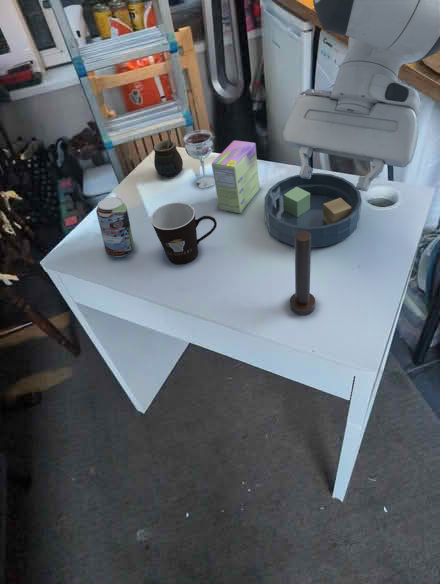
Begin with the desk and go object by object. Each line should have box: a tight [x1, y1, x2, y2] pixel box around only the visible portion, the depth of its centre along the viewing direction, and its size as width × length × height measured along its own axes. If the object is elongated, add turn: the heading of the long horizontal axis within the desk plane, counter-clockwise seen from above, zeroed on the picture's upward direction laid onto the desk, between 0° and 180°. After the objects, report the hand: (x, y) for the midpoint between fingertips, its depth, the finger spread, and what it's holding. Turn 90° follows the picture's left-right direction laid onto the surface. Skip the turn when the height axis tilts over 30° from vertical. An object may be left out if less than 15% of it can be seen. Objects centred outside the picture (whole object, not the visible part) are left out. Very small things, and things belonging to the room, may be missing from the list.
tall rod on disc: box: [289, 231, 316, 317], centre depth 70 cm, size 4×4×16 cm
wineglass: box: [182, 129, 215, 189], centre depth 103 cm, size 7×7×12 cm
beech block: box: [323, 198, 352, 225], centre depth 88 cm, size 4×4×4 cm
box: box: [211, 140, 260, 214], centre depth 97 cm, size 10×6×12 cm, turn 152°
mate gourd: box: [152, 129, 184, 179], centre depth 109 cm, size 7×8×10 cm
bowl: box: [263, 172, 363, 248], centre depth 90 cm, size 19×19×6 cm
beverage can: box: [95, 196, 135, 258], centre depth 89 cm, size 6×7×12 cm
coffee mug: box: [150, 201, 218, 266], centre depth 86 cm, size 12×9×10 cm
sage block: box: [283, 187, 310, 217], centre depth 93 cm, size 4×4×4 cm
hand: (332, 183), depth 68 cm, fingers open, 8 cm apart
